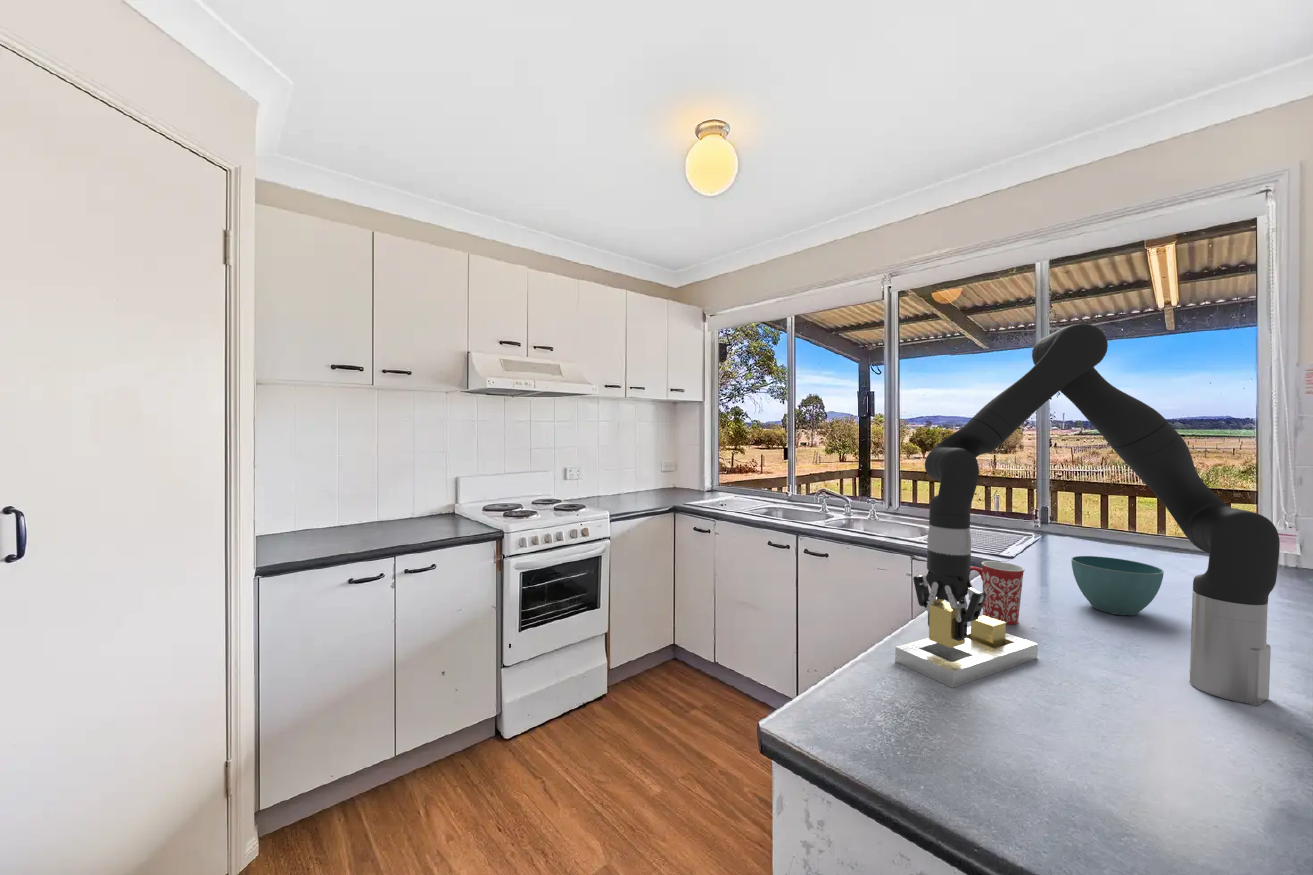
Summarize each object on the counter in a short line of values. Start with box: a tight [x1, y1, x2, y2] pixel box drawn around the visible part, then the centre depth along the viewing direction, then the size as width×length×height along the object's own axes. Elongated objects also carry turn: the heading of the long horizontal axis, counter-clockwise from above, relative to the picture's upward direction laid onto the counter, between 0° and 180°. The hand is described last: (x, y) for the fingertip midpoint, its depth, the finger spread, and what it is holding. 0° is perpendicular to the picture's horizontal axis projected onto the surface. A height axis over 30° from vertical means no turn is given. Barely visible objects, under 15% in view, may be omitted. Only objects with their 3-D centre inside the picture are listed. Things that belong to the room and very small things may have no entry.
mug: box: [969, 560, 1025, 626], centre depth 132 cm, size 13×9×14 cm
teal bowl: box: [1070, 555, 1165, 616], centre depth 138 cm, size 18×18×12 cm
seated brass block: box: [970, 614, 1007, 649], centre depth 111 cm, size 4×4×7 cm
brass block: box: [928, 600, 965, 648], centre depth 104 cm, size 4×4×7 cm
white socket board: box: [894, 625, 1039, 689], centre depth 107 cm, size 28×12×3 cm, turn 118°
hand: (946, 634), depth 104 cm, fingers closed on brass block, 4 cm apart
